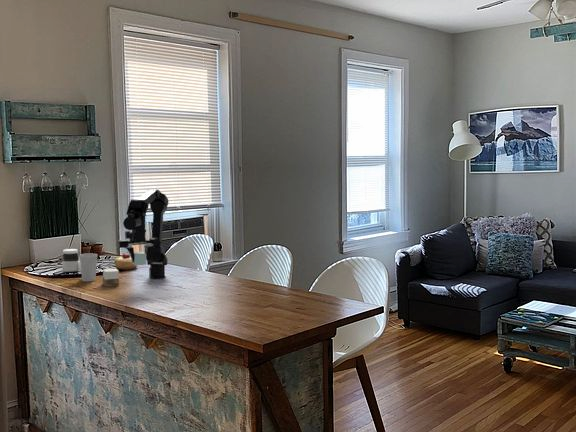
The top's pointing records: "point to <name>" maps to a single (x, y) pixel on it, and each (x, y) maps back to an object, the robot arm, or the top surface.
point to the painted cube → (139, 258)
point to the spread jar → (70, 261)
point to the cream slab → (110, 274)
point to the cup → (88, 266)
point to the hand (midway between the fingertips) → (139, 261)
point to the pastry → (124, 262)
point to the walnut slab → (110, 282)
